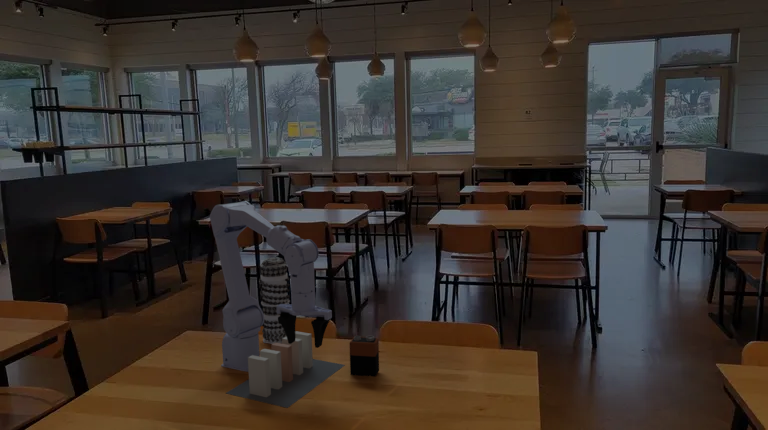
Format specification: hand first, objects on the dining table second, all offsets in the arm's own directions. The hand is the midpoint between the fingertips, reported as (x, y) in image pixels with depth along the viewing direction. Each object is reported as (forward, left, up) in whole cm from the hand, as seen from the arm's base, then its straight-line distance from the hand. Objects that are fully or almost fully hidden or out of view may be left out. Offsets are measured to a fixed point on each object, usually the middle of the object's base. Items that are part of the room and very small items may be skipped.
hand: (305, 344), depth 138 cm
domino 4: (-7, +4, -10) cm, 13 cm away
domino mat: (-6, 0, -10) cm, 12 cm away
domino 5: (-7, +8, -10) cm, 15 cm away
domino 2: (-7, -5, -10) cm, 13 cm away
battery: (+10, +11, -11) cm, 19 cm away
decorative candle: (-26, +22, -11) cm, 36 cm away
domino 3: (-7, -1, -10) cm, 12 cm away
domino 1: (-7, -10, -10) cm, 15 cm away
